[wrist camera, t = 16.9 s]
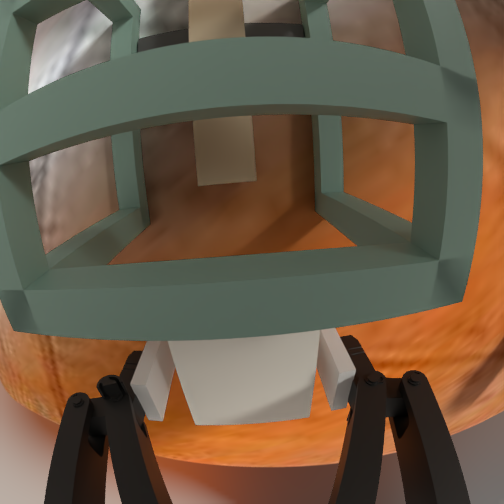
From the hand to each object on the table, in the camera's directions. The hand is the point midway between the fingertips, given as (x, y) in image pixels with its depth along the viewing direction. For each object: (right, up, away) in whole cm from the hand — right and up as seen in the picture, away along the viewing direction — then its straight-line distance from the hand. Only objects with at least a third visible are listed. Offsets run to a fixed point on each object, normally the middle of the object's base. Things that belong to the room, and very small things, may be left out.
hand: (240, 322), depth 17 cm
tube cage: (-1, +12, -4) cm, 13 cm away
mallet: (-1, +19, -7) cm, 20 cm away
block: (0, 0, 0) cm, 1 cm away
